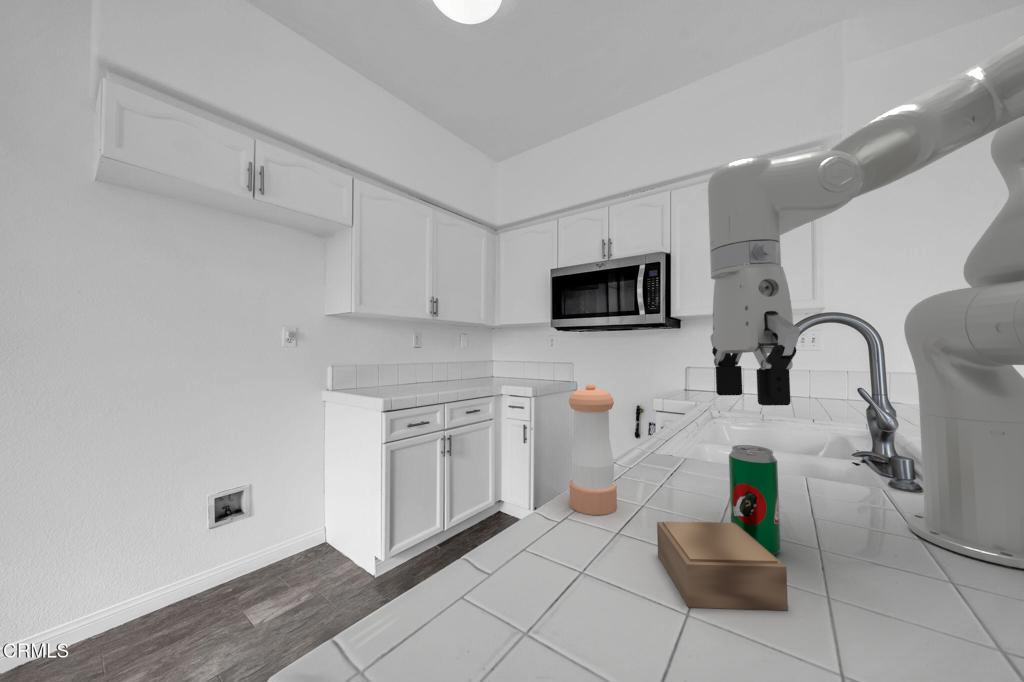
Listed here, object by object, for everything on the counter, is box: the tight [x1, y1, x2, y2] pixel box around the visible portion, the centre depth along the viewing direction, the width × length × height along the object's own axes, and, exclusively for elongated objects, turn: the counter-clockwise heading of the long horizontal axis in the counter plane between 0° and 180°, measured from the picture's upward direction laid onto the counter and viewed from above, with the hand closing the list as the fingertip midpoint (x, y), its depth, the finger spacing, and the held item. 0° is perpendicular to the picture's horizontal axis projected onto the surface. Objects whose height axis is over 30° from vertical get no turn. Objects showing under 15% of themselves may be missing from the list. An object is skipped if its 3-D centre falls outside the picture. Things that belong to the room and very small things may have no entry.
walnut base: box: [656, 521, 789, 611], centre depth 40 cm, size 9×9×4 cm
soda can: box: [728, 444, 782, 556], centre depth 46 cm, size 5×5×12 cm
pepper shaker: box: [568, 383, 618, 516], centre depth 59 cm, size 7×7×19 cm
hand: (749, 399), depth 47 cm, fingers open, 9 cm apart
